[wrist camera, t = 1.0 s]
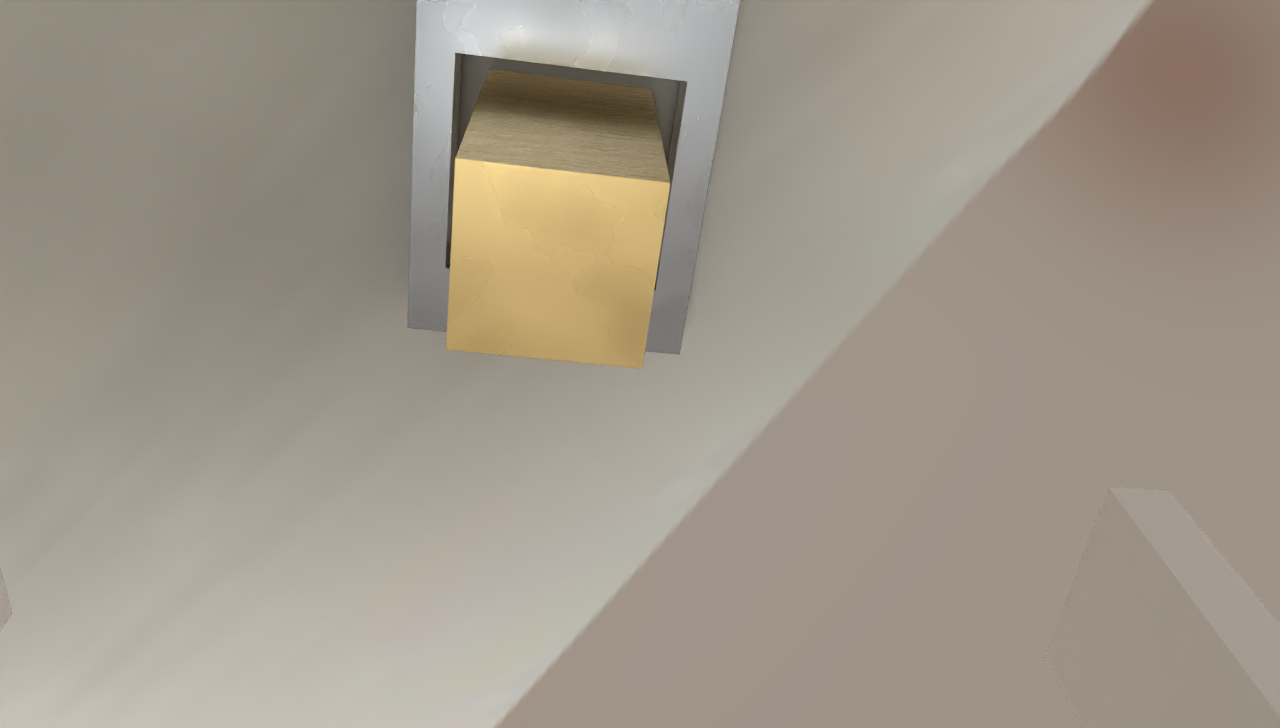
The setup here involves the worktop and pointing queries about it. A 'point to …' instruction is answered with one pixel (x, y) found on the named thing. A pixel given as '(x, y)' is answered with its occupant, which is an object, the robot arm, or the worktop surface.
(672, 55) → the grey slotted board
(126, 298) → the worktop surface
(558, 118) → the block
